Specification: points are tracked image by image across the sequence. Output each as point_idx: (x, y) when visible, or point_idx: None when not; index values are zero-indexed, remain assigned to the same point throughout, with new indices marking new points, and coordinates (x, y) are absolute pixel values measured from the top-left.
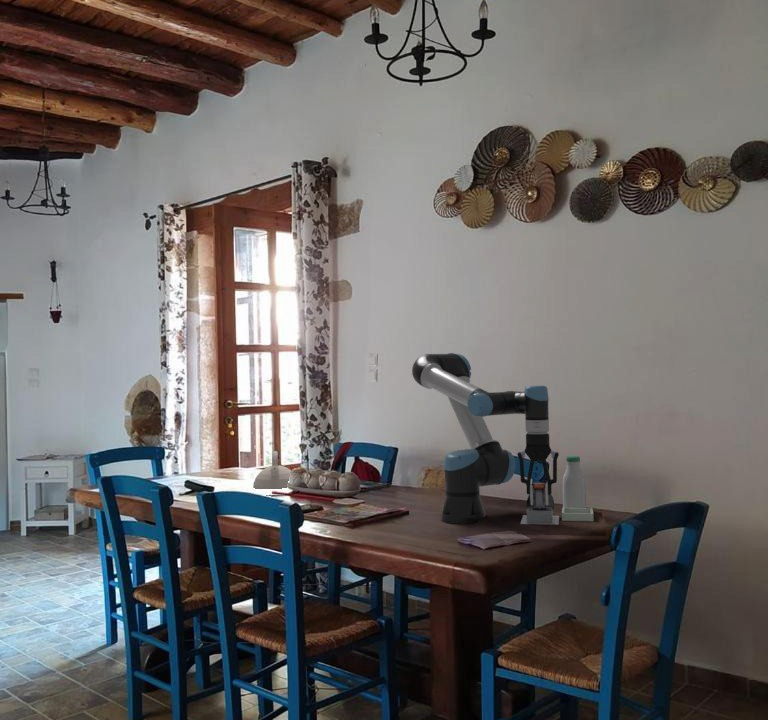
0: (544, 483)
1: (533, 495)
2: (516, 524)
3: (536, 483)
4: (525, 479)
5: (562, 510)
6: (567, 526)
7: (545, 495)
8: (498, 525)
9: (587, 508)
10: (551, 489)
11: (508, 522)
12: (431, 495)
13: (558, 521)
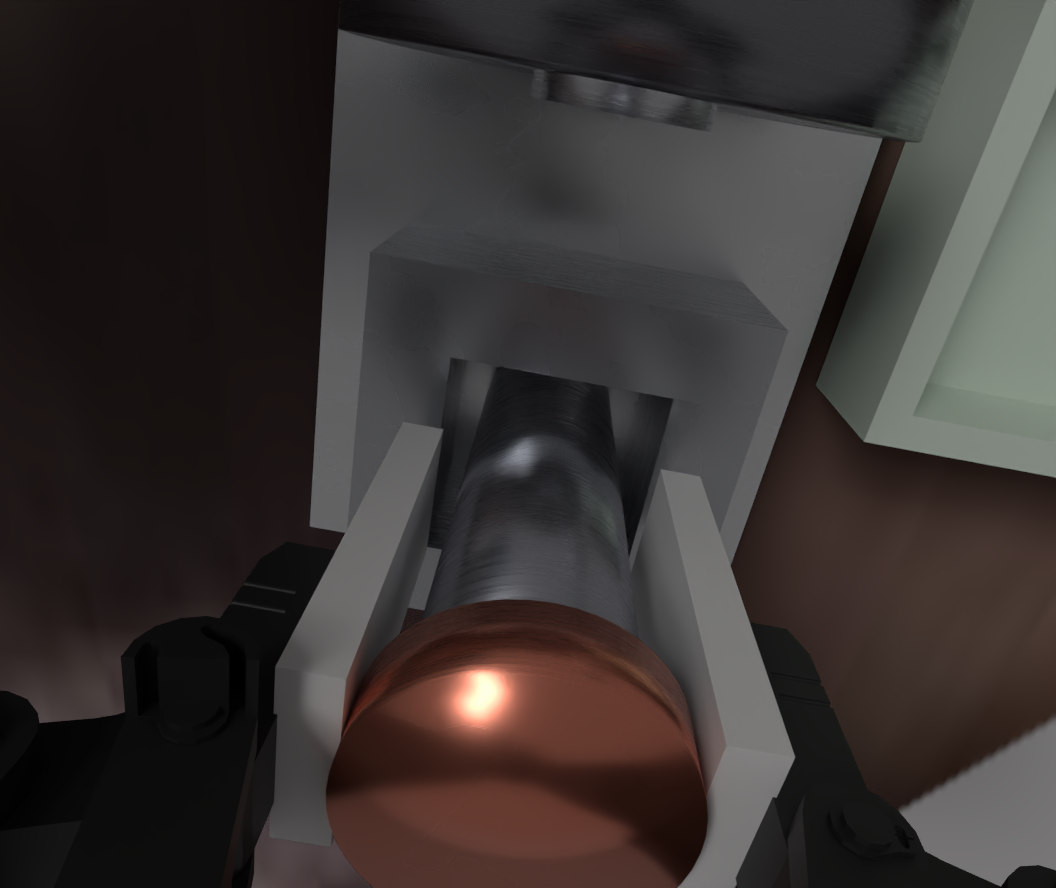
0: (686, 813)
1: (471, 50)
2: (274, 334)
3: (449, 777)
4: (47, 875)
5: (968, 213)
6: (836, 495)
7: (772, 110)
8: (73, 370)
9: None
10: (829, 704)
11: (167, 196)
12: None
13: (769, 446)
